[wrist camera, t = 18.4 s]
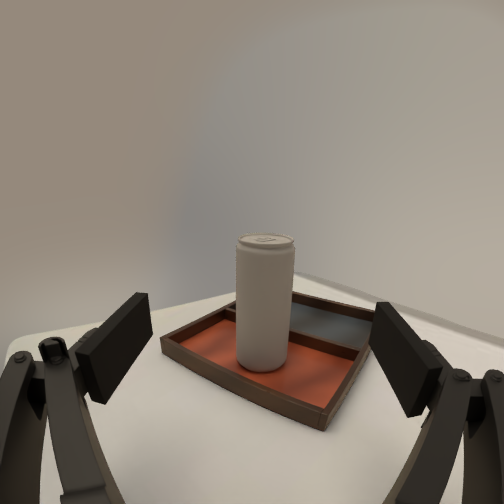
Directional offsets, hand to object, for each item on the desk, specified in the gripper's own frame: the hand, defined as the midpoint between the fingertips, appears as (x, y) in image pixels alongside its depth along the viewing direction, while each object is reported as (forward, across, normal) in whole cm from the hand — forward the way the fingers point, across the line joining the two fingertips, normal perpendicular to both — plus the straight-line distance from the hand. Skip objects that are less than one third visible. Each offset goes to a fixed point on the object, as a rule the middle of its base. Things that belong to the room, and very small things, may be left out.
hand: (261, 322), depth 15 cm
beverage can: (+9, 0, -9) cm, 13 cm away
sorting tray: (+13, +3, -10) cm, 17 cm away
